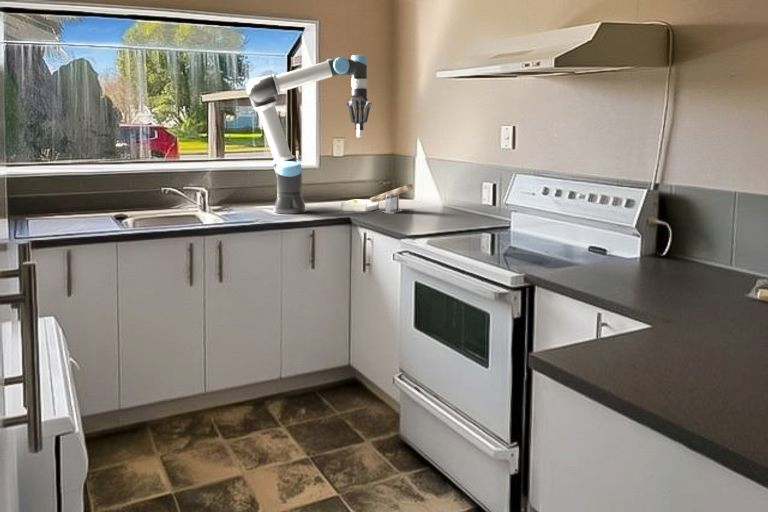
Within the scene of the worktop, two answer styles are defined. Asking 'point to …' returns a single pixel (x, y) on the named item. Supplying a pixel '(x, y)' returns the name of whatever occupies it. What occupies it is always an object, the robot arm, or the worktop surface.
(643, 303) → the worktop surface
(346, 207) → the dish
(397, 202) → the stand
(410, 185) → the lever
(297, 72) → the robot arm
